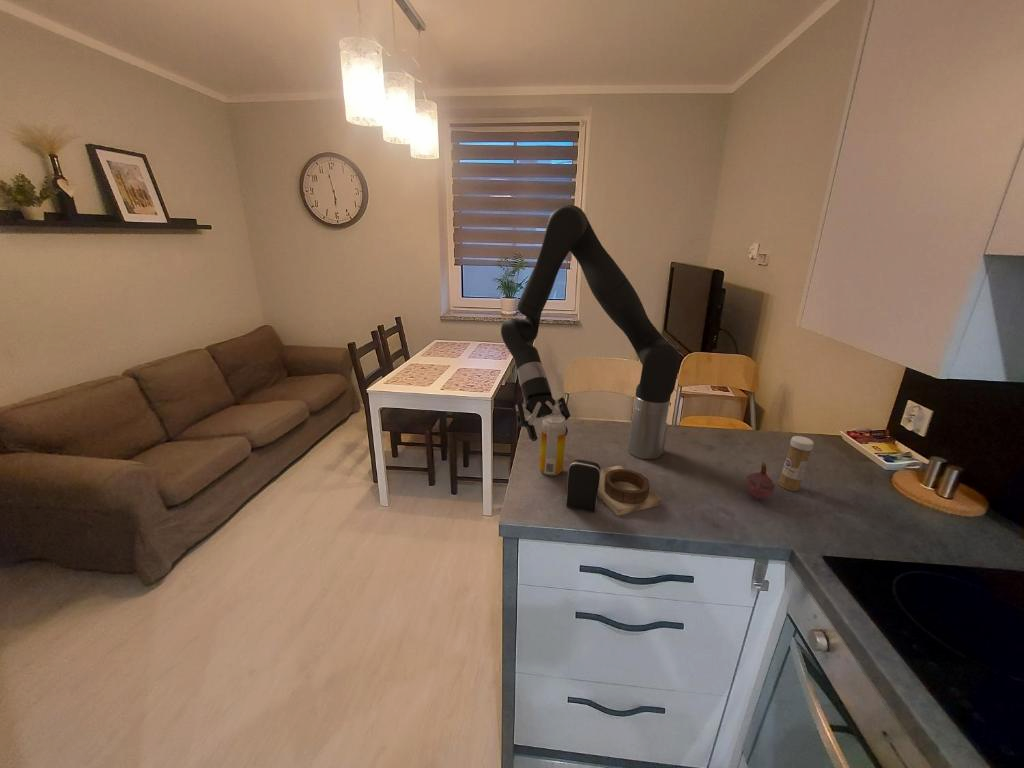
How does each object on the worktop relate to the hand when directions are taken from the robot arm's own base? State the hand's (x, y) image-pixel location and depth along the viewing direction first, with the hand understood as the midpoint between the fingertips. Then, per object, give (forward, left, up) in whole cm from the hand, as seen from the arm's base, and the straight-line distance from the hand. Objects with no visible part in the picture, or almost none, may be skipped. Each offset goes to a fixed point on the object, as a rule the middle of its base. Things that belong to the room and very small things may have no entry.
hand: (550, 438), depth 105 cm
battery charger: (0, +17, -9) cm, 19 cm away
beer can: (-1, +1, -9) cm, 9 cm away
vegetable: (-42, +29, -9) cm, 52 cm away
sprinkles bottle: (-55, +28, -9) cm, 62 cm away
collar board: (-12, +15, -9) cm, 21 cm away
